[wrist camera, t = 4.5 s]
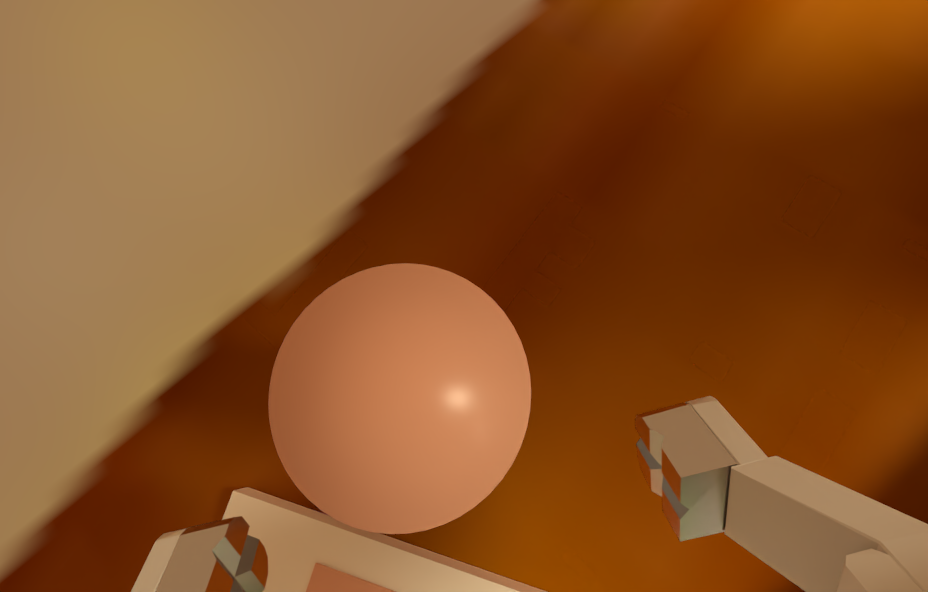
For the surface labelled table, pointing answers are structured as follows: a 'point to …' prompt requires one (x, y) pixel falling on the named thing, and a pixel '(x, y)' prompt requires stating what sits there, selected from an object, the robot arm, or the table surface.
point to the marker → (399, 398)
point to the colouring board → (349, 554)
